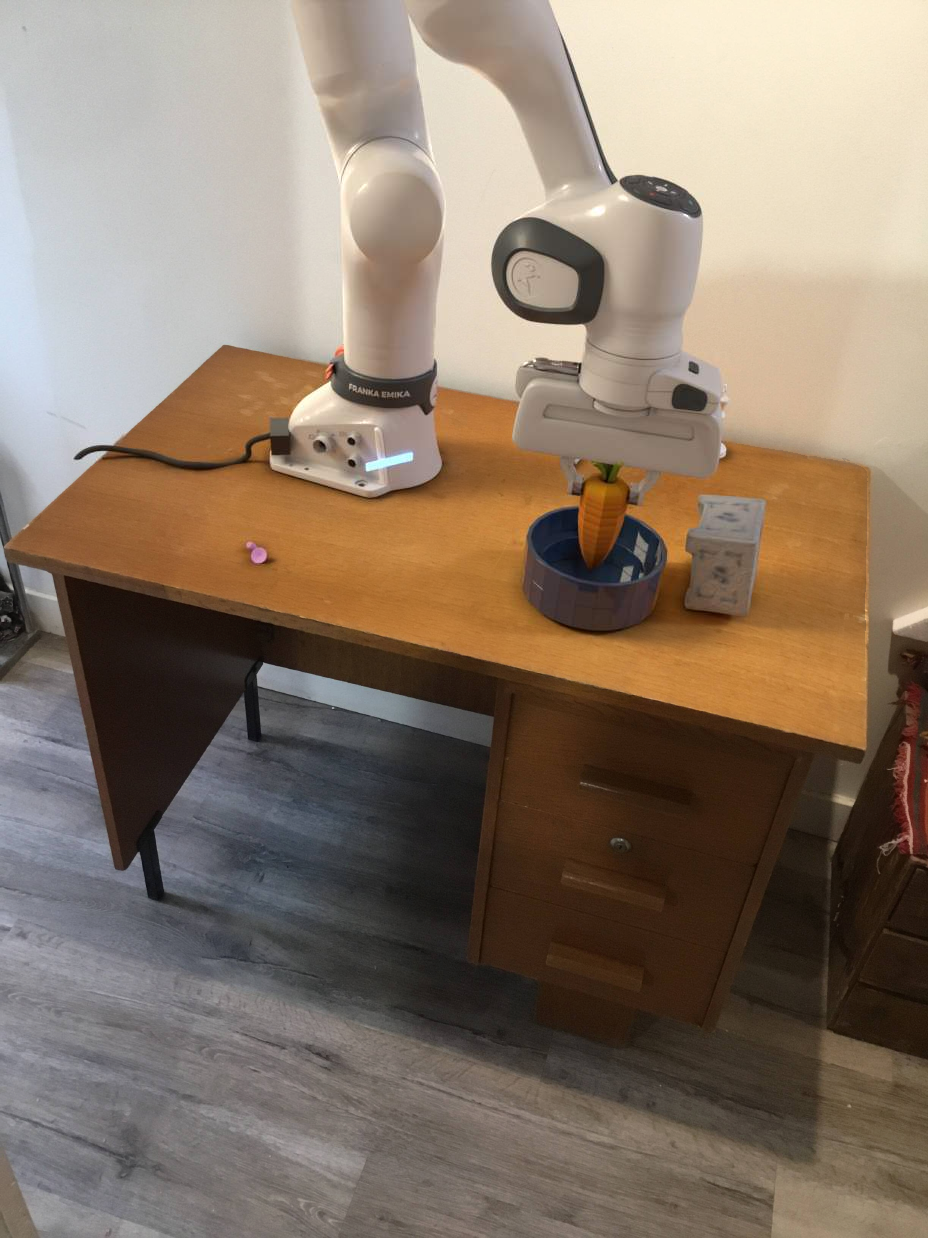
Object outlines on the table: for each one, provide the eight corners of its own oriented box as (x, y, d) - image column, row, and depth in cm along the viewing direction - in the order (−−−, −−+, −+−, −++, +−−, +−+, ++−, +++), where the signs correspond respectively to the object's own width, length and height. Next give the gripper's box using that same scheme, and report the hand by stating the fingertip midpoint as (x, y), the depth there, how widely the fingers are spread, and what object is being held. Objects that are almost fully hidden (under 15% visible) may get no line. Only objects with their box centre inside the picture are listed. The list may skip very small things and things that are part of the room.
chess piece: (730, 449, 130) (748, 383, 124) (718, 462, 126) (736, 395, 120) (698, 438, 132) (714, 373, 125) (685, 451, 128) (701, 385, 122)
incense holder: (682, 560, 107) (702, 483, 101) (753, 577, 105) (778, 500, 99) (667, 607, 100) (688, 527, 93) (744, 627, 98) (770, 547, 91)
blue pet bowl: (527, 633, 95) (534, 583, 91) (514, 551, 106) (520, 503, 102) (668, 636, 96) (681, 587, 92) (640, 554, 108) (651, 507, 104)
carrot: (612, 586, 97) (637, 462, 88) (566, 578, 98) (586, 454, 88) (615, 560, 101) (640, 438, 92) (571, 553, 102) (591, 431, 92)
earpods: (263, 569, 103) (274, 558, 103) (258, 566, 101) (269, 555, 101) (246, 551, 104) (257, 540, 104) (241, 548, 102) (252, 536, 102)
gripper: (512, 367, 84) (500, 496, 92) (737, 400, 81) (703, 530, 90) (524, 341, 89) (511, 466, 97) (737, 372, 86) (704, 498, 95)
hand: (604, 497), depth 94 cm, fingers closed on carrot, 5 cm apart
